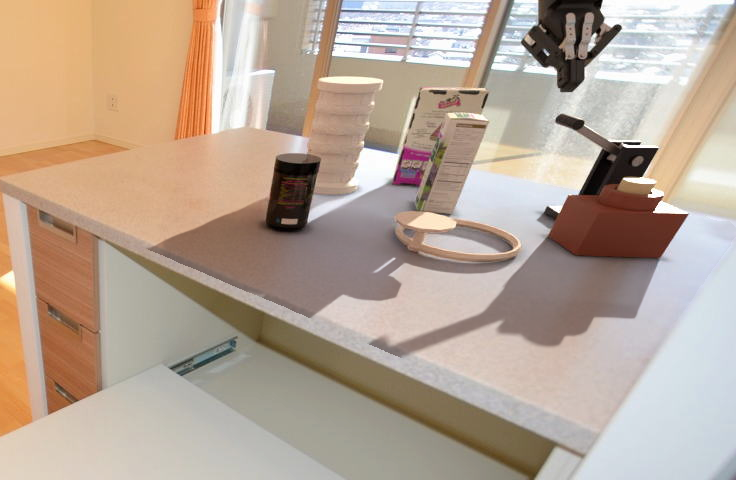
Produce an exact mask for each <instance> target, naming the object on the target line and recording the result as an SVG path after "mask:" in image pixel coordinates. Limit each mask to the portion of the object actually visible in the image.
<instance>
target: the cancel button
mask: <svg viewBox="0 0 736 480" xmlns="http://www.w3.org/2000/svg"><path fill="white" fill-rule="evenodd" d="M656 185H657V181H656V180H654V179H650V178H647V177H642V178H641V177H624V178H623V179H622V181H621V183H620V184H619V186H618V188H617V190H618V191H621V192H625V193H631V194H638V195H649V194H650V192H651V191H652V189H654V187H655V186H656Z"/></svg>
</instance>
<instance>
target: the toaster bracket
mask: <svg viewBox="0 0 736 480" xmlns="http://www.w3.org/2000/svg"><path fill="white" fill-rule="evenodd" d="M608 140H609V141H610V142H612V143H613V144H615V145H617V146H619V145H620V144H621V143H623V144H626V145H629V146H622V148H621V149H620V151H619V153H618V155H617V157H616V159H615V161H614V162H611V161H609V160H608V159H606V158H607V157H608V156H609V155H610V154H611V153H609V152H608V151H606V150H604V149H603V148H601V150H600V152H599V153H598V155H597V157H596V160H595V161H594V163H593V164H592V165H593V166H592V167H591V169H590V170H589V172H588V175H587V176H586V179H585V181H584V182H583V185H582V187H581V188H580V190H579V193H578V194H577V195H600V193H601V191H602V190H603V188H604V186H605V185H610V184H620V183H621V181H622V179H623V178H624V177H641V178H644V175H645V174H646V171H648V168H649V166H650V165H651V163H652V162H653V159H654V158H655V156H656V154H657V153H658V151H659V149H660V147H658V146H656V145H641V144H642V141H640V140H637V139H636V140H635V139H633V140H632V139H627V140H626V139H620V140H618V139H617V140H616V139H608ZM562 207H563V205H547V206H546V207H545V209H544V211H543V214H544V215H546V216H548V217H549V218H551V219H553V220H554V221H555V220H556V218H557V216H558V214H559V212H560V211H561V209H562Z"/></svg>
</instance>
